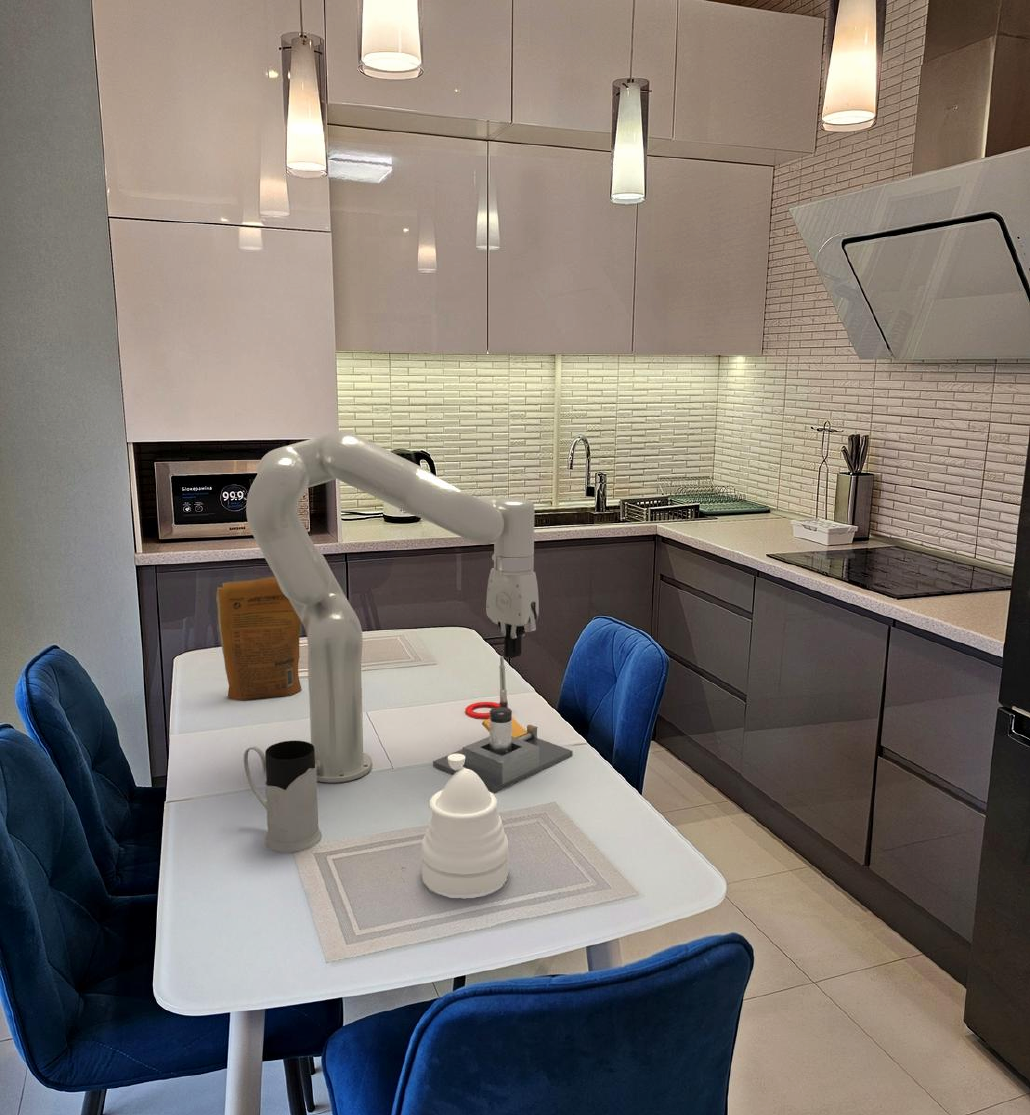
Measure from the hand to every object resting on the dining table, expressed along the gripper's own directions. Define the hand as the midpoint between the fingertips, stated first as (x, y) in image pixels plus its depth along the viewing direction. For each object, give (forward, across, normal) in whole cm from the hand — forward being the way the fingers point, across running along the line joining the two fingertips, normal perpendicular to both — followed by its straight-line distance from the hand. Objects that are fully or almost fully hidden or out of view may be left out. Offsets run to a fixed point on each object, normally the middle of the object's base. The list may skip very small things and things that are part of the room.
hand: (512, 655), depth 175 cm
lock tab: (+18, +1, 0) cm, 18 cm away
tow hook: (+20, -17, +10) cm, 28 cm away
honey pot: (+19, +26, -38) cm, 50 cm away
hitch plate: (+19, +3, -6) cm, 20 cm away
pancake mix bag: (+19, -60, -18) cm, 65 cm away
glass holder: (+19, -4, -50) cm, 54 cm away
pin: (+18, +6, -10) cm, 21 cm away
